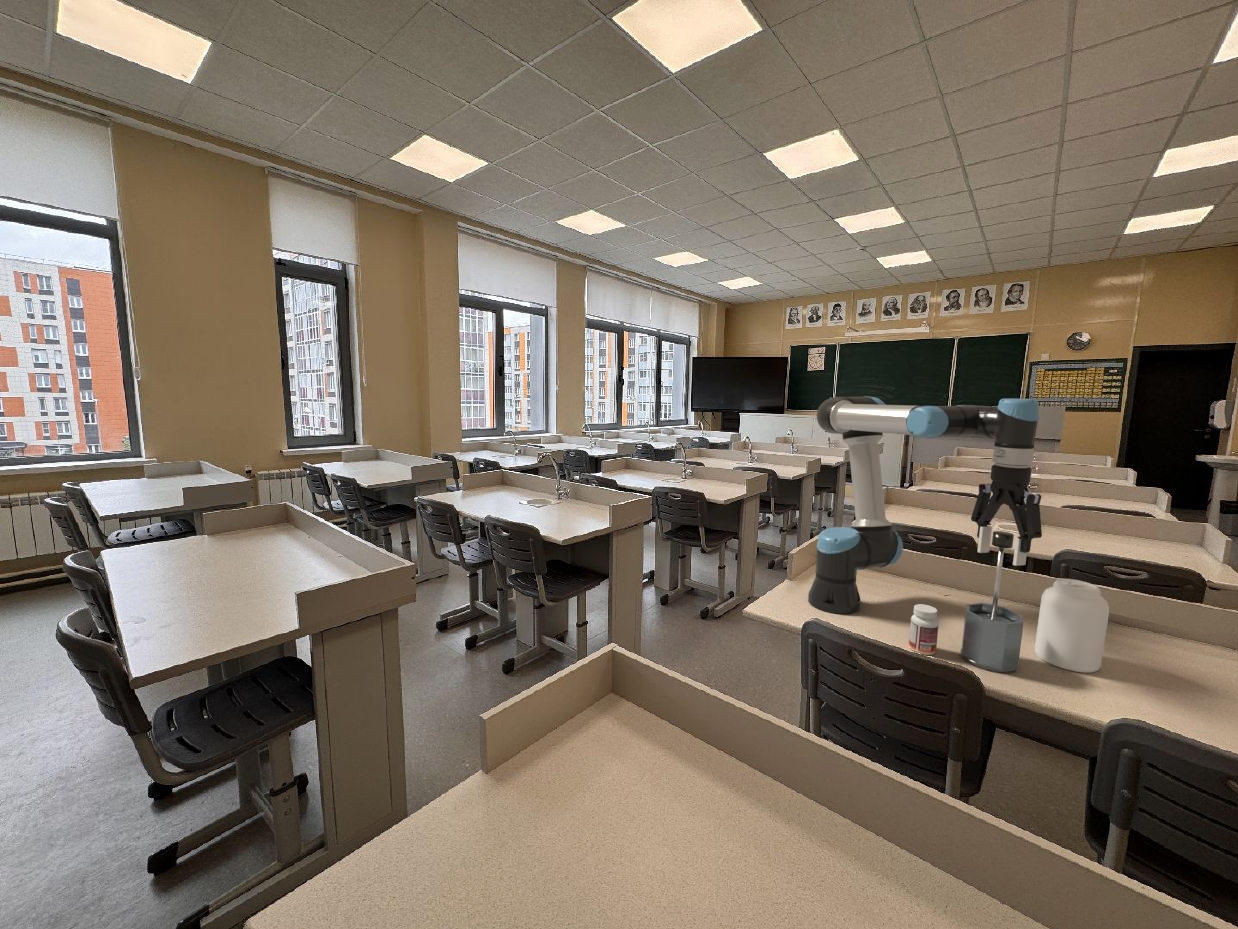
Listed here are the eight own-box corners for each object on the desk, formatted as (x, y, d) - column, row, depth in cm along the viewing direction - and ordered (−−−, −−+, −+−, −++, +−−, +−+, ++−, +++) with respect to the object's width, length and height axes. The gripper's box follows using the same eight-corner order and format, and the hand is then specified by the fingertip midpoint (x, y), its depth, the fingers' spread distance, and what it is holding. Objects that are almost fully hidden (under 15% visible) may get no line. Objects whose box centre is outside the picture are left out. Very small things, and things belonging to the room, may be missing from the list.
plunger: (963, 618, 131) (973, 529, 128) (991, 615, 133) (1001, 527, 129) (993, 633, 123) (1005, 539, 119) (1023, 630, 125) (1035, 537, 121)
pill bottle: (940, 651, 134) (944, 609, 132) (928, 658, 130) (932, 615, 129) (916, 641, 139) (919, 601, 137) (903, 648, 135) (907, 606, 134)
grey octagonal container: (949, 651, 134) (954, 605, 132) (994, 645, 137) (999, 600, 135) (989, 675, 123) (995, 625, 121) (1038, 669, 126) (1044, 620, 124)
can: (1031, 661, 129) (1041, 584, 126) (1036, 642, 138) (1046, 570, 135) (1099, 680, 121) (1112, 598, 118) (1100, 659, 130) (1112, 583, 127)
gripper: (959, 459, 131) (950, 545, 135) (1044, 473, 111) (1031, 575, 114) (984, 458, 133) (974, 543, 136) (1072, 472, 112) (1058, 572, 116)
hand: (1000, 558), depth 125 cm, fingers open, 9 cm apart
